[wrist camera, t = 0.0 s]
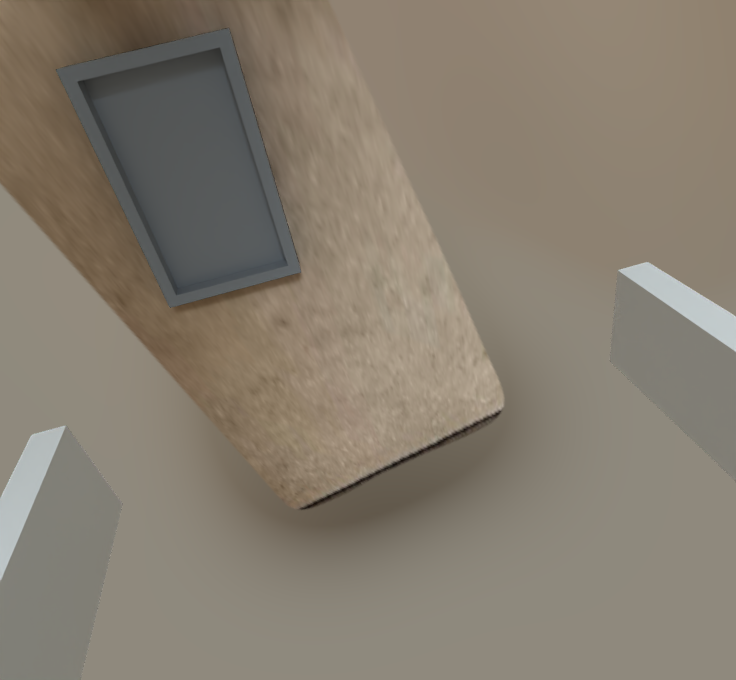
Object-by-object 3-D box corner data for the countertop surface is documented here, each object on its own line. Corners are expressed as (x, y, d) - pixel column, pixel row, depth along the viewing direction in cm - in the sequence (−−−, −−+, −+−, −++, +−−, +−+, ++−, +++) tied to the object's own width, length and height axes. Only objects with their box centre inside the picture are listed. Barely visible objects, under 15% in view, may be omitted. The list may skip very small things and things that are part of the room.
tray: (64, 66, 31) (55, 69, 29) (229, 27, 32) (228, 28, 30) (172, 296, 40) (169, 307, 38) (299, 262, 40) (301, 272, 39)
